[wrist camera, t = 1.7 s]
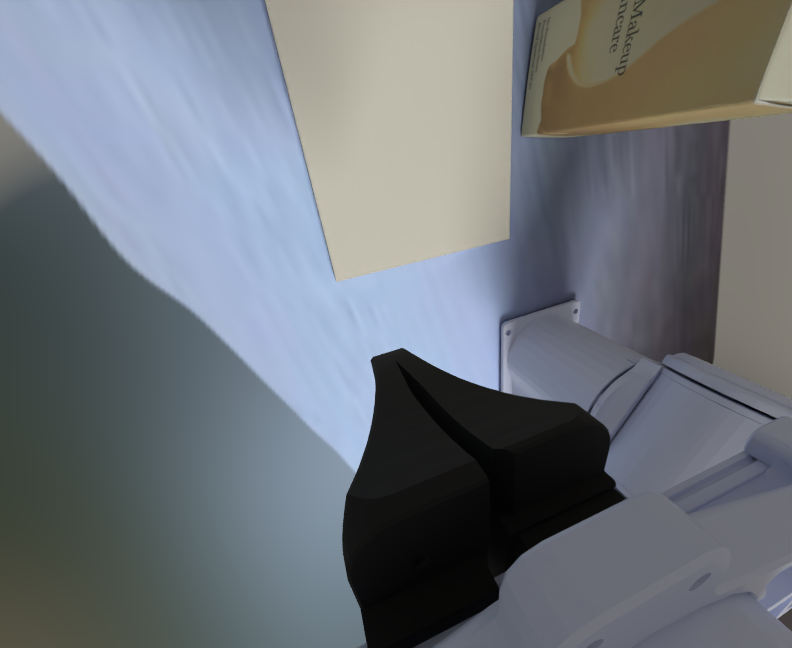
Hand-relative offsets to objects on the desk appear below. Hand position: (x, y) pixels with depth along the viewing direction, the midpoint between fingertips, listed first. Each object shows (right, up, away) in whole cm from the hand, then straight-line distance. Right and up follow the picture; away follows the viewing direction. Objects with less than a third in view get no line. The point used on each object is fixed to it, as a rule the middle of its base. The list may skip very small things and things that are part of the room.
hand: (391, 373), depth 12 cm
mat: (+1, +15, +6) cm, 16 cm away
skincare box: (+10, +17, +8) cm, 22 cm away
